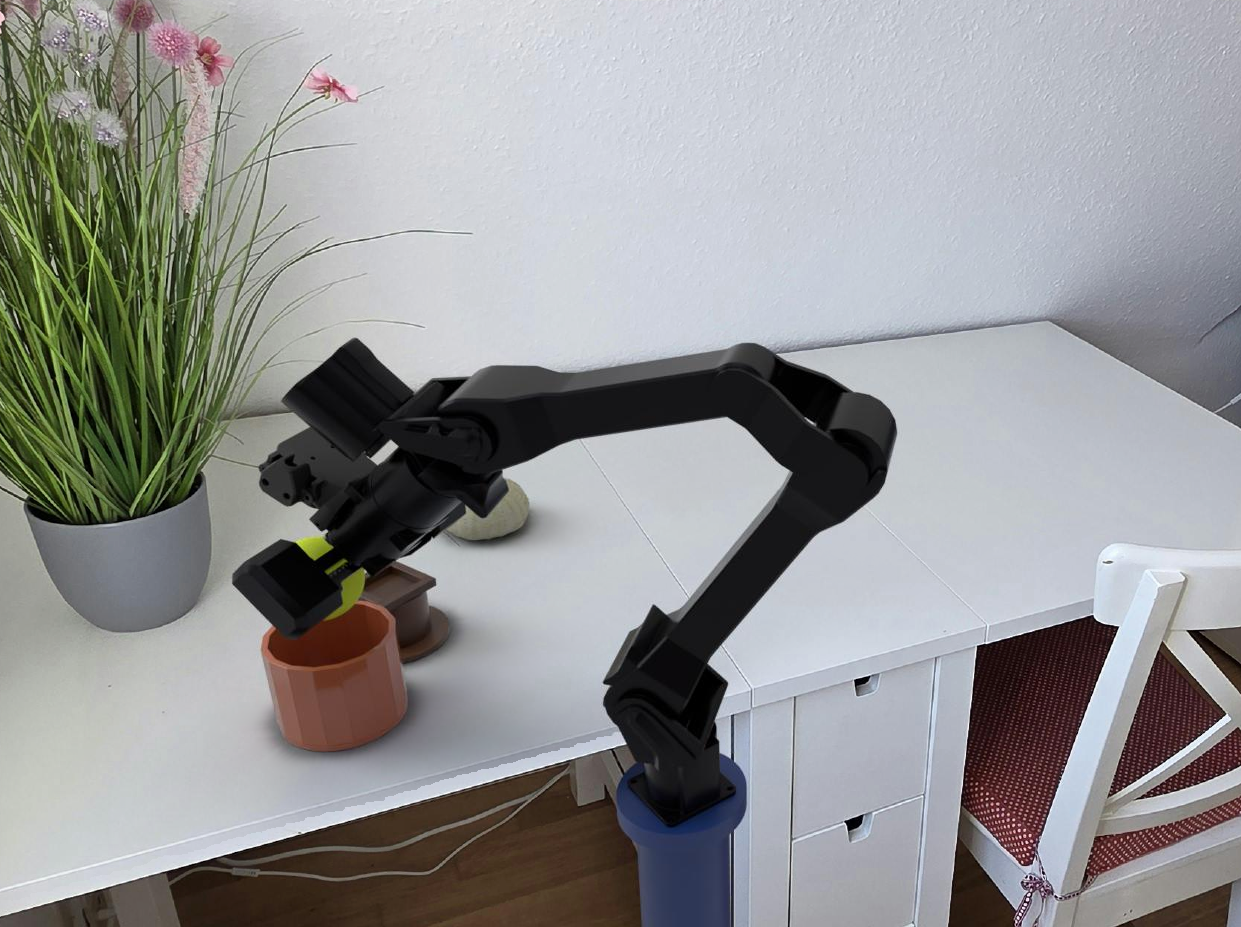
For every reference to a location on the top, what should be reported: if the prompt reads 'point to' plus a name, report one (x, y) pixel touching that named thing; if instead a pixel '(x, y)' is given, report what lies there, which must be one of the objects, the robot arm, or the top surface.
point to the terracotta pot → (337, 680)
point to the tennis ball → (351, 585)
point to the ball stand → (408, 608)
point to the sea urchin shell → (495, 517)
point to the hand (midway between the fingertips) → (306, 589)
